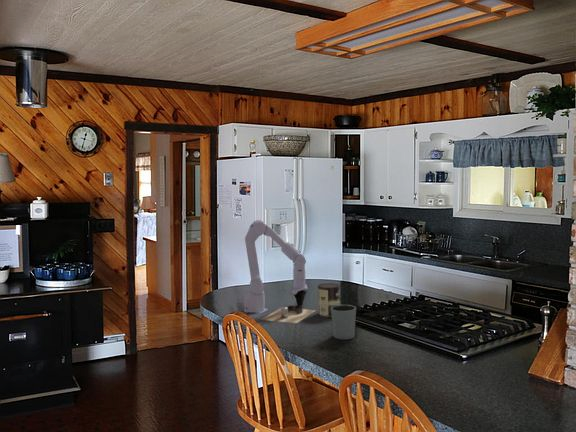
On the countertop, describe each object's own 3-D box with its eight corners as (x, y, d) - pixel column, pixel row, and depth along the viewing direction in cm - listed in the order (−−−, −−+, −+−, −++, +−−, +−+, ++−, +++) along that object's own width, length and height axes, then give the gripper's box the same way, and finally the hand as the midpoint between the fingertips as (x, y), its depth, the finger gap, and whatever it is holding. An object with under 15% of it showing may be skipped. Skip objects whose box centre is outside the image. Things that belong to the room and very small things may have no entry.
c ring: (288, 309, 278) (288, 304, 278) (305, 310, 274) (305, 305, 274) (282, 312, 272) (282, 307, 272) (300, 314, 268) (300, 309, 268)
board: (260, 320, 260) (260, 319, 260) (282, 308, 282) (281, 307, 282) (296, 324, 253) (296, 323, 253) (316, 311, 275) (316, 310, 275)
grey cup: (358, 333, 237) (358, 305, 236) (353, 341, 227) (352, 311, 226) (334, 332, 240) (334, 303, 239) (328, 339, 231) (328, 309, 230)
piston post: (280, 318, 262) (279, 308, 262) (282, 316, 265) (282, 306, 265) (286, 318, 261) (286, 308, 260) (289, 316, 264) (289, 307, 263)
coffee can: (341, 312, 272) (340, 283, 271) (338, 318, 262) (338, 287, 261) (319, 311, 274) (319, 282, 273) (316, 317, 264) (316, 287, 263)
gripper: (301, 281, 270) (302, 309, 271) (312, 276, 283) (313, 302, 285) (287, 280, 273) (288, 308, 274) (299, 275, 286) (299, 301, 287)
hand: (300, 305), depth 280 cm, fingers closed
